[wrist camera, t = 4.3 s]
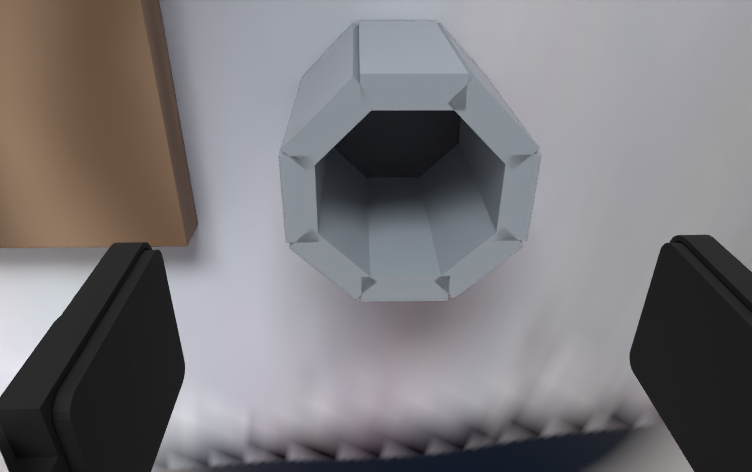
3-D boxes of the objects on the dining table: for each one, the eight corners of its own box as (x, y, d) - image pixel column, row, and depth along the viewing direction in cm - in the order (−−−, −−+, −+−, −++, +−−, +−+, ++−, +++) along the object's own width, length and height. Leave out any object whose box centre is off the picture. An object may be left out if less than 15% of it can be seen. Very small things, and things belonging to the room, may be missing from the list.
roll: (495, 20, 17) (555, 73, 12) (476, 197, 20) (517, 300, 15) (296, 20, 17) (271, 73, 12) (307, 198, 20) (291, 302, 15)
